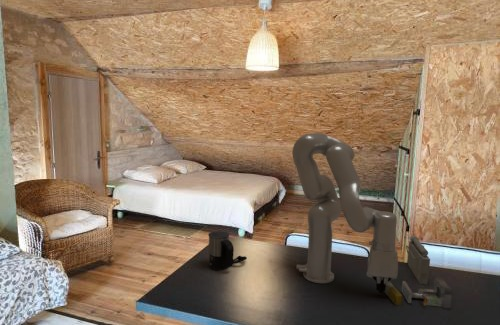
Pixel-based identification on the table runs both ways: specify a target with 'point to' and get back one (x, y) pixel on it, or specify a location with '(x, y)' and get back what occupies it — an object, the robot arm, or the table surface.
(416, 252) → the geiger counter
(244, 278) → the table surface
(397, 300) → the medication box
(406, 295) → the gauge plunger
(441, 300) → the grey u-shaped bracket
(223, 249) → the milk frother
